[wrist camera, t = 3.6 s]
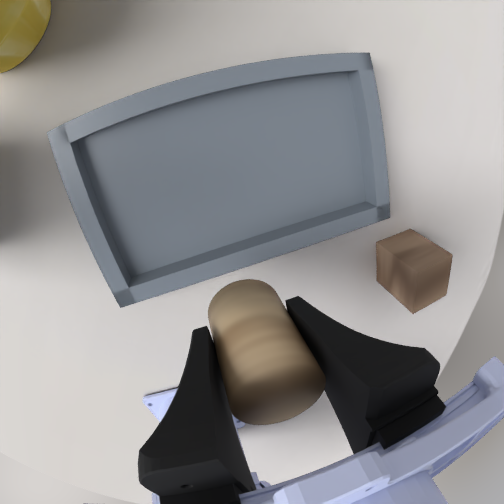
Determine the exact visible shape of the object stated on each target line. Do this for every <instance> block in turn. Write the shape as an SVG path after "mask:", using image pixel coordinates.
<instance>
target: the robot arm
mask: <svg viewBox="0 0 504 504" xmlns="http://www.w3.org/2000/svg"><path fill="white" fill-rule="evenodd" d="M285 301H286V306H287V311H288V313H289V315H290V317H291V318H292V320H293V322H294V323H295V325H296V327H297V329H298V330H299V332H300V334H301V335H302V337H303V339H304V340H305V342H306V344H307V346H308V347H309V349H310V351H311V352H312V354H313V356H314V357H315V359H316V361H317V363H318V364H319V366H320V368H321V369H322V371H323V373H324V375H325V378H326V385H325V388H324V390H325V392H326V394H327V396H328V398H329V400H330V402H331V404H332V406H333V408H334V411H335V413H336V415H337V417H338V419H339V421H340V423H341V426H342V428H343V430H344V432H345V435H346V437H347V439H348V442H349V444H350V446H351V449H352V451H353V453H354V455H351V456H349V457H347V458H345V459H343V460H340V461H338V462H336V463H333V464H331V465H328V466H326V467H324V468H321V469H319V470H316V471H313V472H311V473H308V474H305V475H303V476H300V477H297V478H294V479H291V480H288V481H285V482H282V483H279V484H276V485H272V486H271V485H270V484H269V483H268V482H266V481H259V479H258V476H257V473H256V472H251V473H250V470H249V467H248V464H247V461H246V458H245V454H244V451H243V448H242V444H241V441H240V437H239V434H238V430H237V429H238V428H241V427H244V426H245V423H244V422H241V421H240V420H238V419H237V418H235V417H234V416H233V414H232V412H231V410H230V406H229V402H228V398H227V394H226V391H225V387H224V383H223V379H222V375H221V371H220V366H219V362H218V358H217V354H216V350H215V345H214V342H213V340H212V337H211V335H210V332H209V330H208V327H207V326H205V327H202V328H198V329H195V330H193V332H192V339H191V344H190V349H189V354H188V358H187V361H186V365H185V369H184V372H183V375H182V378H181V381H180V384H179V386H178V388H176V389H172V390H168V391H165V392H161V393H156V394H152V395H148V396H145V397H143V403H144V404H145V405H146V406H147V408H148V409H149V410H150V411H151V412H152V413H153V414H154V416H155V417H156V418H157V419H158V420H159V421H160V423H159V425H158V426H157V428H156V429H155V431H154V432H153V434H152V435H151V436H150V438H149V439H148V440H147V441H146V443H145V444H144V445H143V446H142V448H141V449H140V450H139V458H138V473H139V481H140V484H142V485H143V486H144V487H145V488H147V489H148V490H150V491H152V492H153V493H152V503H153V504H448V502H447V501H446V499H445V498H444V496H443V495H442V493H441V491H440V490H439V488H438V487H437V485H436V484H435V482H434V481H433V479H432V478H433V477H434V476H436V475H437V474H438V473H440V472H441V471H442V470H444V469H445V468H446V467H448V466H449V465H450V464H452V463H453V462H454V461H455V460H457V459H458V458H459V457H460V456H462V455H463V454H464V453H465V452H466V451H468V450H469V449H470V448H471V447H472V446H473V445H474V444H475V443H477V442H478V441H479V440H480V439H481V438H482V437H483V436H485V434H487V433H488V432H489V431H490V430H491V429H492V428H493V427H494V426H495V425H496V424H497V423H498V422H499V421H500V420H501V419H503V418H504V364H502V362H501V361H500V360H499V359H497V358H496V356H494V357H492V358H491V359H490V360H489V361H488V362H486V363H485V364H484V365H483V366H482V367H481V368H480V369H479V370H478V371H477V372H476V374H475V376H474V378H473V381H472V382H471V383H469V384H468V385H467V386H465V387H464V388H463V389H461V390H460V391H459V392H458V393H456V394H455V395H454V396H452V397H451V398H449V399H448V400H447V401H445V402H444V403H443V402H442V401H441V400H440V398H439V397H438V396H437V394H438V390H437V389H436V388H435V387H434V384H435V382H436V379H437V377H438V374H439V370H440V363H439V362H438V361H437V360H436V359H435V358H434V357H433V355H432V354H431V353H429V352H428V351H427V350H426V349H425V348H419V347H410V346H403V345H398V344H394V343H389V342H385V341H382V340H379V339H376V338H372V337H369V336H367V335H364V334H361V333H359V332H357V331H354V330H352V329H350V328H348V327H346V326H344V325H342V324H341V323H339V322H337V321H335V320H333V319H332V318H330V317H328V316H327V315H325V314H324V313H322V312H321V311H319V310H318V309H316V308H315V307H313V306H312V305H310V304H309V303H308V302H306V301H305V300H303V299H302V298H301V297H299V296H297V297H294V298H291V299H288V300H285ZM84 504H86V503H84Z"/></svg>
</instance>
